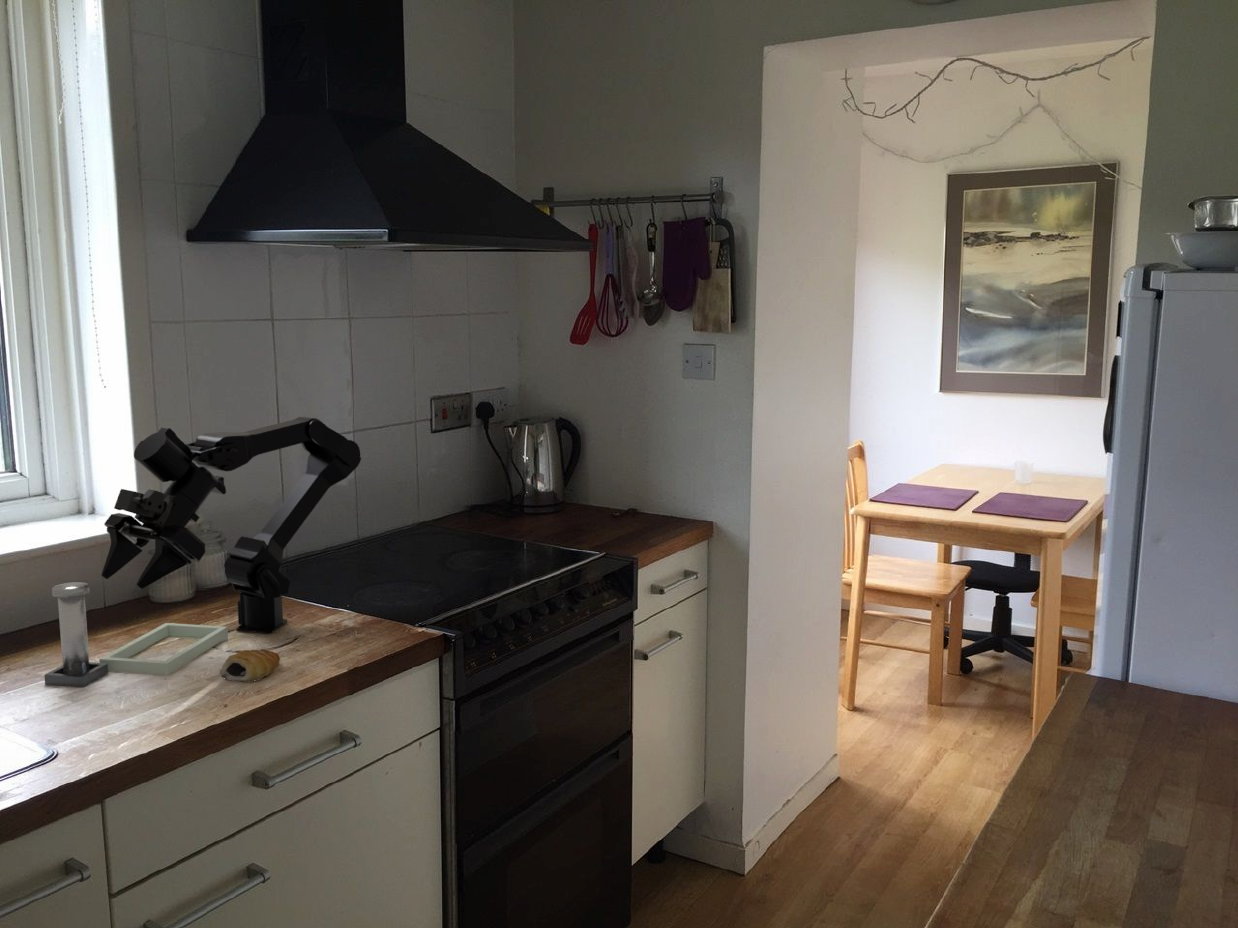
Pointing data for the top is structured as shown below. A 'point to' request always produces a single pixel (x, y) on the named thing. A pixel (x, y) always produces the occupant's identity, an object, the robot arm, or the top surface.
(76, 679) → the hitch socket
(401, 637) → the top surface
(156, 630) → the tray
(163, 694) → the top surface
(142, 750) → the top surface
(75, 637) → the pin
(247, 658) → the pastry
